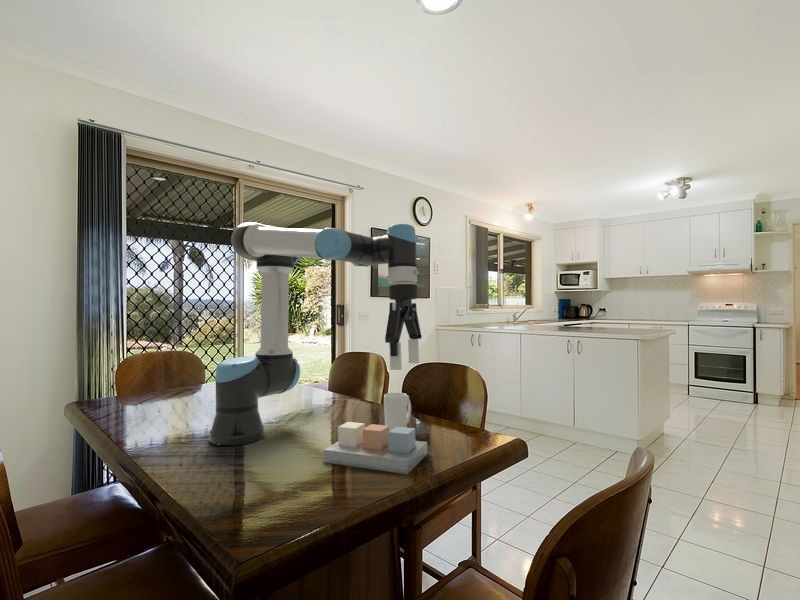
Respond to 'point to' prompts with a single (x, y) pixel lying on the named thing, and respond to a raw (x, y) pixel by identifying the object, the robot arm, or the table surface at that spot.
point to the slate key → (402, 440)
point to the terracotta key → (376, 437)
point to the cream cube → (350, 434)
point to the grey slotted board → (375, 457)
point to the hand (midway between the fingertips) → (405, 366)
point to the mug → (396, 410)
